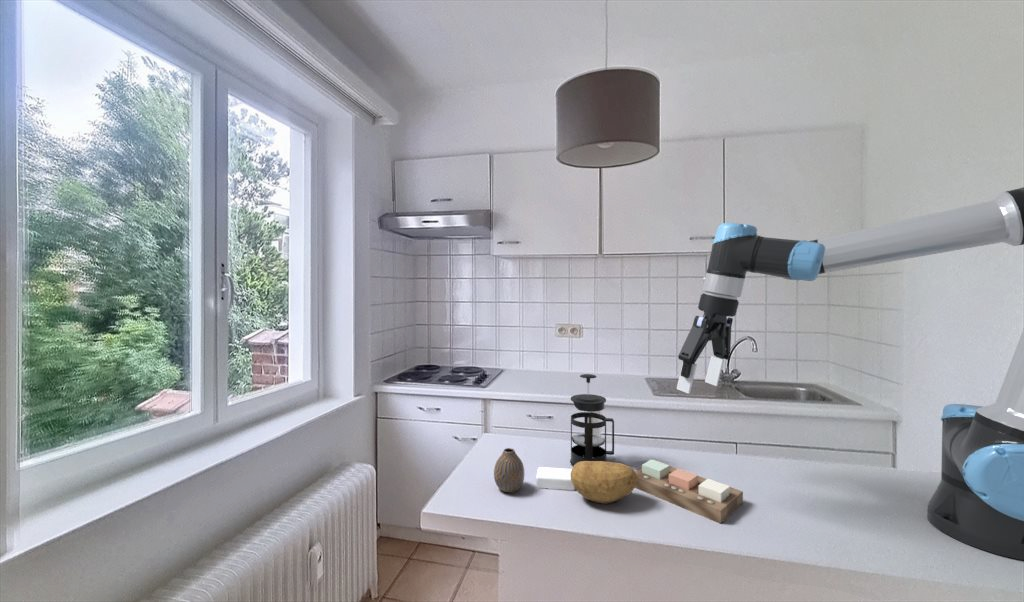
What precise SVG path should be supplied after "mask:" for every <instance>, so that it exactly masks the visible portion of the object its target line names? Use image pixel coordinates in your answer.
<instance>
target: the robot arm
mask: <svg viewBox="0 0 1024 602" xmlns="http://www.w3.org/2000/svg"><path fill="white" fill-rule="evenodd" d="M757 232H758V228H757V227H756V226H754V225H751V224H745V223H744V224H743V223H739V222H738V223H737V222H724V223H721V224H719V225H718V227H717V230H716V232H715V236H714V239H713V241H712V243H711V245H712V247H711V251H710V256H709V260H708V264H707V265H708V266H707V269H706V273H705V277H703V279H702V280H703V281H704V282H703V286H702V291H704V293H701V294H700V298H699V302H698V306H697V309H698V310H699V311H701V312H703V315H702V316H699V315H695V316H694V320H693V323H692V327H691V328H690V330H689V332H688V334H687V337H686V339H685V341H684V342H683V345H682V347H681V350H680V351H679V353H678V360H679V361H680V360H681V361H682V363H681V369H680V372H679V377H678V381H677V384H676V390H678V391H681V392H683V393H685V394H691V390H692V387H693V382H694V378H695V375H696V371H697V365H698V364H697V363H696V362H697V360H698V359H699V358H700V355H701V354H702V352H703V351H704V349H705V347H706V346H707V344H708V343H709V342H711V346H712V353H713V355H711V357H710V359H709V364H708V368H707V371H706V375H705V380H704V383H707V384H710V385H712V386H715V387H718V385H719V382H720V379H721V374H722V369H723V366H724V363H725V360H730V357H731V355H730V354H731V344H732V343H731V341H732V340H731V338H732V326H733V320H734V319H733V317H735V316H736V315H737V312H738V308H739V303H740V301H739V299H737V298H741V297H742V292H743V289H744V284H745V279H746V275H747V273H749V272H750V273H754V274H761V275H765V276H773V277H777V278H778V277H779V278H782V279H785V280H791V281H792V280H794V281H806V282H814V281H815V280H816V279H817V278H818V277H819V275H823V274H826V273H833V272H840V271H843V270H850V269H851V270H852V269H856V268H862V267H868V266H872V265H878V264H885V263H891V262H897V261H902V260H909V259H913V258H919V257H924V256H931V255H938V254H943V253H948V252H955V251H960V250H965V249H970V248H971V249H972V248H976V247H982V246H988V245H994V244H999V243H1005V244H1008V245H1010V246H1012V247H1018V246H1023V245H1024V186H1023V187H1019V188H1016V189H1010V190H1007V191H1003V192H1000V193H999V194H998V195H997V196H996V197H995V198H994V199H992V200H989V201H985V202H980V203H976V204H975V203H974V204H971V205H966V206H962V207H958V208H953V209H949V210H944V211H943V210H942V211H940V212H935V213H930V214H926V215H921V216H917V217H916V216H915V217H912V218H908V219H903V220H899V221H893V222H889V223H885V224H881V225H877V226H876V225H875V226H872V227H867V228H863V229H858V230H854V231H850V232H849V231H848V232H845V233H840V234H835V235H832V236H831V235H830V236H827V237H821V238H818V239H814V240H805V239H802V240H799V239H798V240H797V239H786V238H776V237H775V238H774V237H766V236H761V235H758V233H757ZM940 421H941V423H942V428H941V430H942V431H941V433H942V434H941V465H940V466H941V469H940V470H941V471H940V472H941V475H940V477H941V478H940V479H941V480H940V482H939V484H938V486H937V488H936V489H935V491H934V493H933V495H932V497H931V499H930V500H929V502H928V504H927V508H926V509H927V510H926V511H927V512H926V513H927V515H926V518H927V520H928V521H929V523H930V524H931V525H932V526H933V527H935V528H936V529H937V530H939V531H940V532H942V533H944V534H945V535H947V536H949V537H951V538H953V539H955V540H957V541H959V542H962V543H964V544H967V545H969V546H972V547H974V548H978V549H980V550H982V551H986V552H989V553H991V554H996V555H999V556H1003V557H1006V558H1011V559H1014V560H1015V559H1016V560H1021V561H1024V328H1023V329H1022V332H1021V335H1020V337H1019V340H1018V343H1017V345H1016V347H1015V350H1014V353H1013V355H1012V358H1011V361H1010V363H1009V366H1008V368H1007V371H1006V374H1005V376H1004V379H1003V381H1002V384H1001V387H1000V390H999V392H998V395H997V397H996V400H995V402H994V403H992V404H988V405H985V406H982V405H975V404H974V405H972V404H963V403H950V404H946V405H944V406H943V409H942V415H941V417H940Z"/></svg>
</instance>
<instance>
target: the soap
mask: <svg viewBox="0 0 1024 602" xmlns="http://www.w3.org/2000/svg"><path fill="white" fill-rule="evenodd" d="M571 471H572V468H563V467H562V468H561V467H558V468H557V467H545V466H539V467H538V468H537V471H536V477H535V486H536V489H545V488H548V489H549V490H559V489H561V490H562V491H576V489H575V487H574V485H573V483H572V481H571Z"/></svg>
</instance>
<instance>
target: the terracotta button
mask: <svg viewBox="0 0 1024 602" xmlns="http://www.w3.org/2000/svg"><path fill="white" fill-rule="evenodd" d="M698 476H699V475H698V474H696V473H694V472H693V473H692V472H690V471H686V470H684V469H681V468H677V470H675V471H673V472H672V473H670V474H669V483H671V484H673V485H676V486H678V487H681V488H684V489H686V490H691V489H692V488H694V487H695V486H696V485H698Z"/></svg>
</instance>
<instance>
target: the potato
mask: <svg viewBox="0 0 1024 602" xmlns="http://www.w3.org/2000/svg"><path fill="white" fill-rule="evenodd" d="M571 469H572V471H571V481H572V483H573V485H574V487H575V491H577V493H578V494H580V495H581V496H582V497H583V498H585V499H586V500H588V501H592V502H595V503H598V504H606V505H607V504H611V503H615V502H617V501H619V500H621V499H624V498H625V497H626V496H628V495H630V494H631V492H633V491H634V489H635V485H636V483H637V480H638V478H637V475H636V473H635V472H634V471H635V470H634V469H633V467H632V466H630V465H626V464H625V463H624V464H623V463H621V462H610V461H606V462H604V461H580V462H578V463H576V464H575V465H574V466H572V468H571Z"/></svg>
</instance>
